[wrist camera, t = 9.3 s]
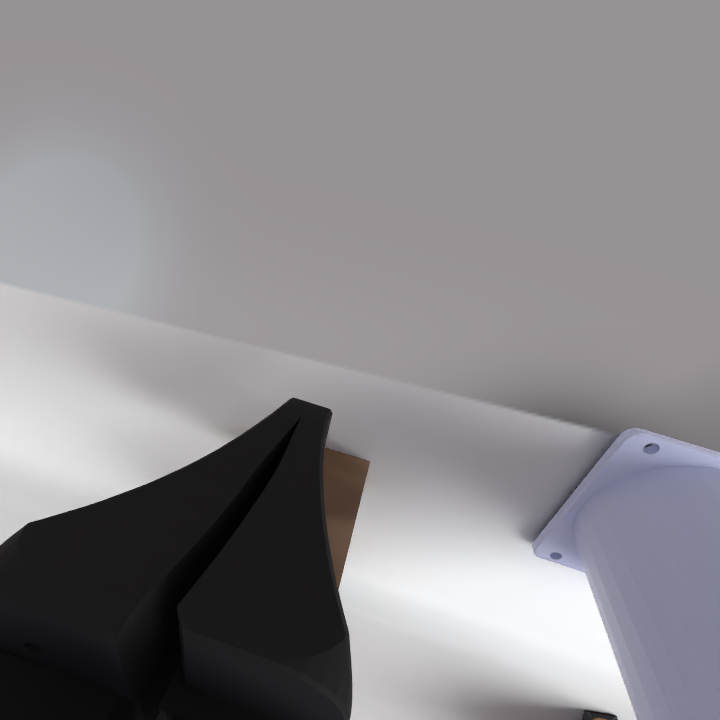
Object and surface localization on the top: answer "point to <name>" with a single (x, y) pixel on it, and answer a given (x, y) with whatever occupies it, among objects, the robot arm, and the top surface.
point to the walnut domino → (341, 502)
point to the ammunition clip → (597, 716)
